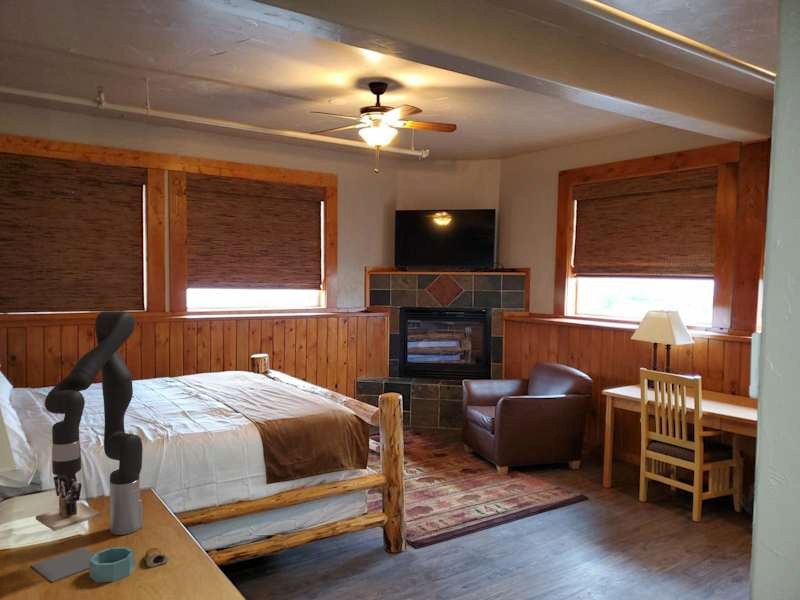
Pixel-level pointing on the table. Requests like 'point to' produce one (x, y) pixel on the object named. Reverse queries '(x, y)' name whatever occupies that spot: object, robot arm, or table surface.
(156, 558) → the pastry
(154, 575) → the table surface
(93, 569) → the bowl
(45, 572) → the mat
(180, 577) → the table surface
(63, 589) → the table surface
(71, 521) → the lid
